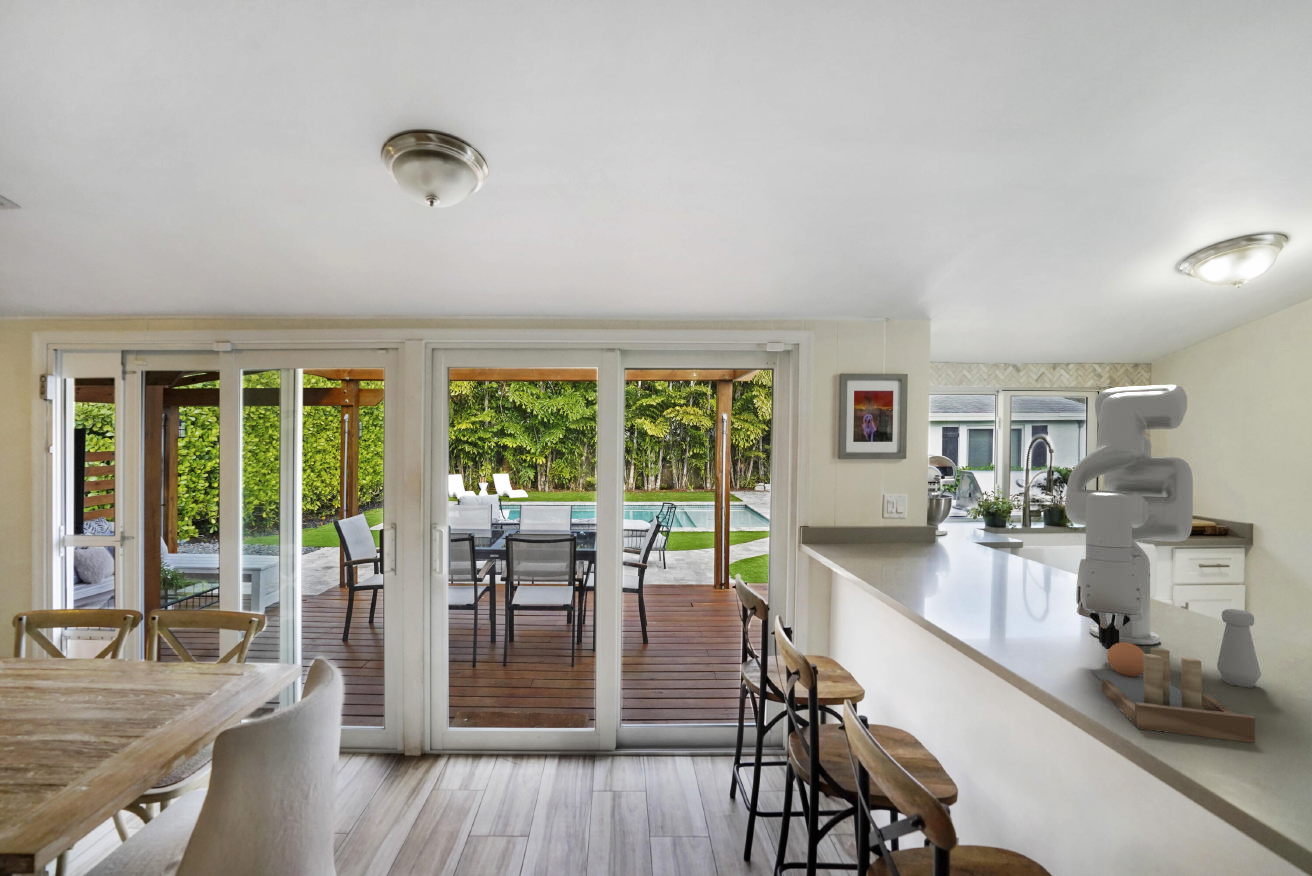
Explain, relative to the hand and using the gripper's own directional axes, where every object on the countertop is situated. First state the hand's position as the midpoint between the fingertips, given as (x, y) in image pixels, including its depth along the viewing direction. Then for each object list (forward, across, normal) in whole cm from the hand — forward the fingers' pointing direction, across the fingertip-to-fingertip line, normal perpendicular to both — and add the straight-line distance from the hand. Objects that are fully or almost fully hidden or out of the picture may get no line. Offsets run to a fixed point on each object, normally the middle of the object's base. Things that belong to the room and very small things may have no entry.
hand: (1108, 647), depth 124 cm
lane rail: (+3, 0, +26) cm, 26 cm away
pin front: (+3, 0, +22) cm, 22 cm away
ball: (0, 0, +8) cm, 8 cm away
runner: (+3, 0, +20) cm, 20 cm away
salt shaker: (+3, -18, +6) cm, 19 cm away
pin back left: (+3, -3, +26) cm, 27 cm away
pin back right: (+4, +2, +26) cm, 27 cm away
